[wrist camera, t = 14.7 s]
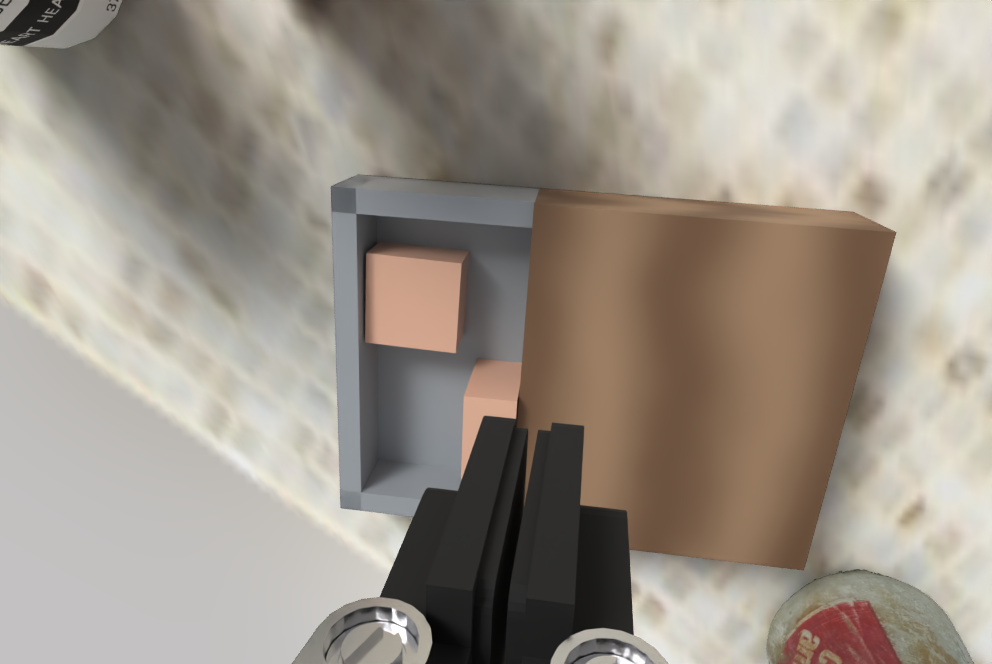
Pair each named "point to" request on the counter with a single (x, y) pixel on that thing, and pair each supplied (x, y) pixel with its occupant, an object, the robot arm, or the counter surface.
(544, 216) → the brown square platform
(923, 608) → the bottle
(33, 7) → the supplement can
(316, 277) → the counter surface
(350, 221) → the box
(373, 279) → the tile
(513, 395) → the tile
